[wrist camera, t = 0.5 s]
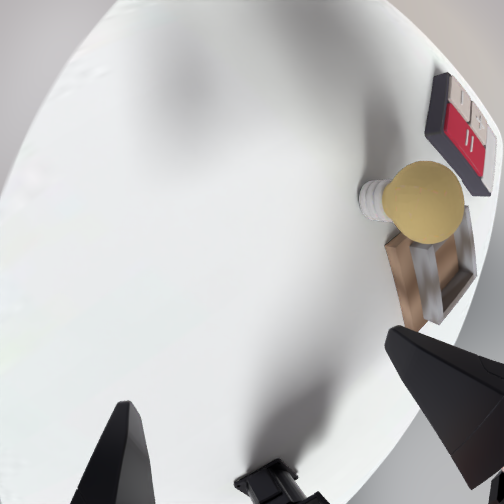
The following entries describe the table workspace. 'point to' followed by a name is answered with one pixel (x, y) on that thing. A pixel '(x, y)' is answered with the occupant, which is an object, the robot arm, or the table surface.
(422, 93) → the table surface
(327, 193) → the table surface
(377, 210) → the light bulb
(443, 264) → the square frame
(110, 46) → the table surface
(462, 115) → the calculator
